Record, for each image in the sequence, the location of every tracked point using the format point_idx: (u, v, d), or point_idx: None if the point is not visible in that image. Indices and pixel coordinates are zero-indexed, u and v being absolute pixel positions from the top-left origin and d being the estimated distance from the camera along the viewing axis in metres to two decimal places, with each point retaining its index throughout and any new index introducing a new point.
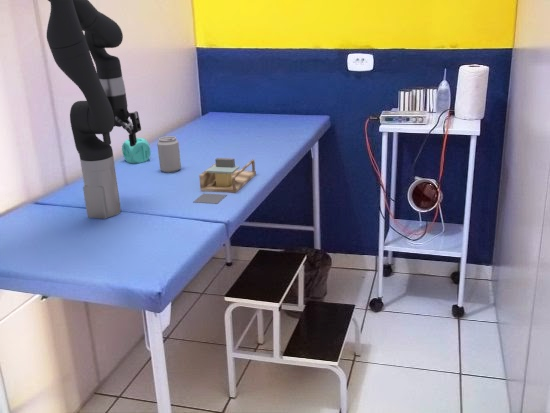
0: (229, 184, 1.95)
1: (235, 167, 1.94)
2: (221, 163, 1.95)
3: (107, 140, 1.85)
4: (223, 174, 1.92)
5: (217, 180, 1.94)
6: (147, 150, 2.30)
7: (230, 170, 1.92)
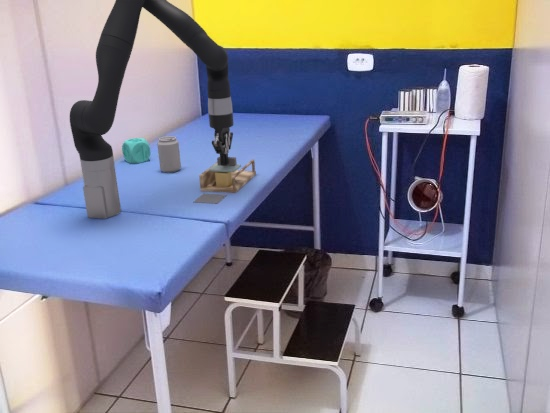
0: (229, 184, 1.95)
1: (237, 166, 1.96)
2: None
3: None
4: (223, 174, 1.92)
5: (217, 180, 1.94)
6: (147, 150, 2.30)
7: (232, 168, 1.93)
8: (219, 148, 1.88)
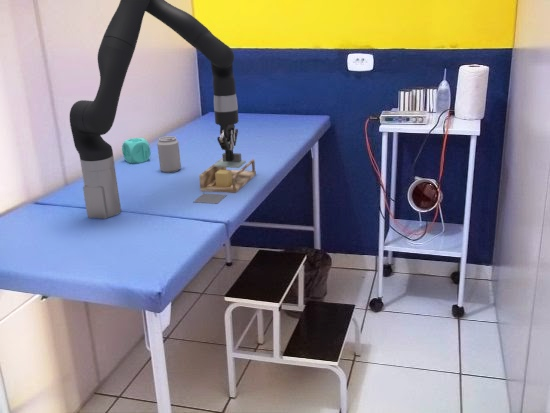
0: (229, 184, 1.95)
1: (242, 162, 2.00)
2: None
3: None
4: (223, 174, 1.92)
5: (217, 180, 1.94)
6: (147, 150, 2.30)
7: (237, 164, 1.97)
8: (224, 144, 1.92)
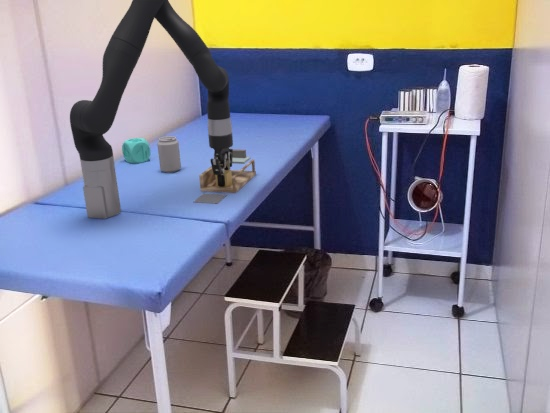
0: (229, 184, 1.95)
1: (246, 158, 2.04)
2: (233, 154, 2.05)
3: None
4: None
5: (217, 180, 1.94)
6: (147, 150, 2.30)
7: (242, 160, 2.02)
8: (217, 167, 1.88)
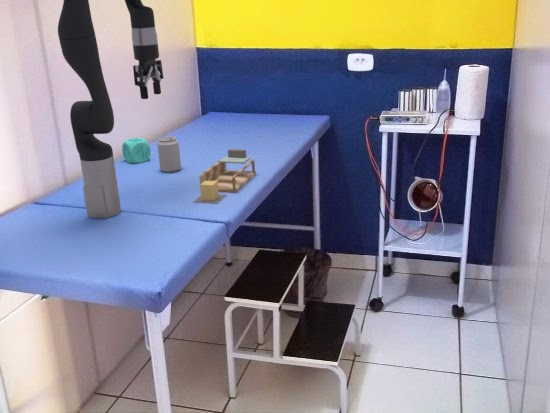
0: (215, 196, 1.84)
1: (246, 158, 2.04)
2: (233, 154, 2.05)
3: None
4: (208, 186, 1.82)
5: (202, 192, 1.83)
6: (147, 150, 2.30)
7: (242, 160, 2.02)
8: (139, 74, 1.80)
